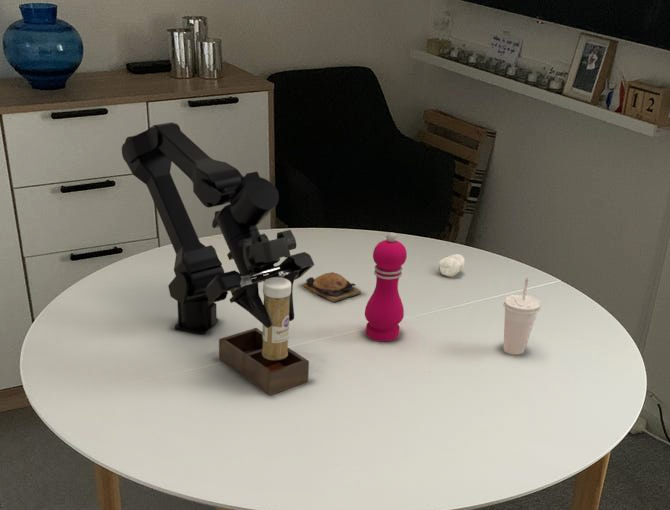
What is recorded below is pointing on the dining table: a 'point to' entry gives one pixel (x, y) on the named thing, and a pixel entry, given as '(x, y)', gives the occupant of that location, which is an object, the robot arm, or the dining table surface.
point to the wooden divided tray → (262, 362)
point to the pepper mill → (386, 291)
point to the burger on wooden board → (331, 286)
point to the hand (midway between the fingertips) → (280, 323)
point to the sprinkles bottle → (276, 318)
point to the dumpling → (451, 265)
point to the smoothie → (519, 320)
